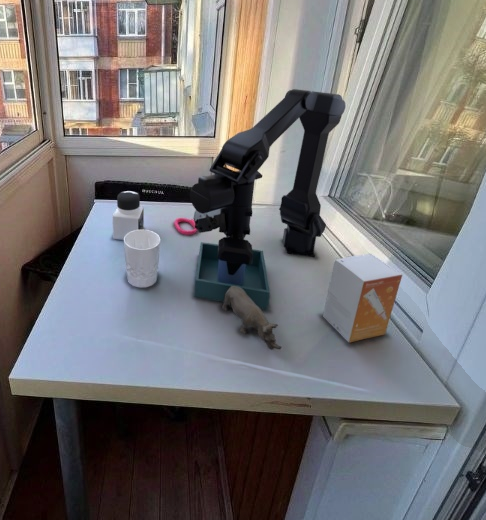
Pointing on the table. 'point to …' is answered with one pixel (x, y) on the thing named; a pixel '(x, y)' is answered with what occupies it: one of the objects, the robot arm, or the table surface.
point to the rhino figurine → (250, 315)
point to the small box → (361, 296)
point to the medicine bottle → (127, 214)
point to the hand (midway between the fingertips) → (230, 265)
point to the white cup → (142, 257)
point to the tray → (216, 290)
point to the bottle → (230, 279)
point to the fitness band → (185, 230)
